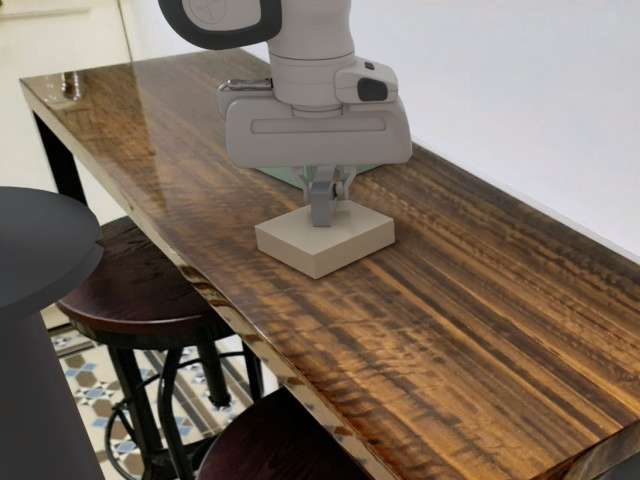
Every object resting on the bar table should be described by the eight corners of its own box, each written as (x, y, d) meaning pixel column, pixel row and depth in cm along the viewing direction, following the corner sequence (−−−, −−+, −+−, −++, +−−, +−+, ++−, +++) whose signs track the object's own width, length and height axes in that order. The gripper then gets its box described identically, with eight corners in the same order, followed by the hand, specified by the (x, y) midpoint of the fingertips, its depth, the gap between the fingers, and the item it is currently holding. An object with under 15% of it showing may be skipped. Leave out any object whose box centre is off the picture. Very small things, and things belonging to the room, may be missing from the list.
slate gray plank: (331, 226, 83) (327, 191, 81) (313, 226, 83) (308, 191, 81) (341, 187, 92) (338, 154, 90) (325, 187, 92) (321, 153, 89)
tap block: (315, 279, 80) (312, 255, 78) (258, 249, 85) (253, 225, 83) (395, 242, 88) (393, 218, 86) (338, 216, 92) (335, 193, 91)
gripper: (209, 88, 75) (232, 214, 83) (412, 85, 78) (415, 207, 87) (215, 70, 80) (237, 191, 88) (406, 68, 83) (409, 185, 91)
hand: (327, 199), depth 87 cm, fingers closed on slate gray plank, 2 cm apart
